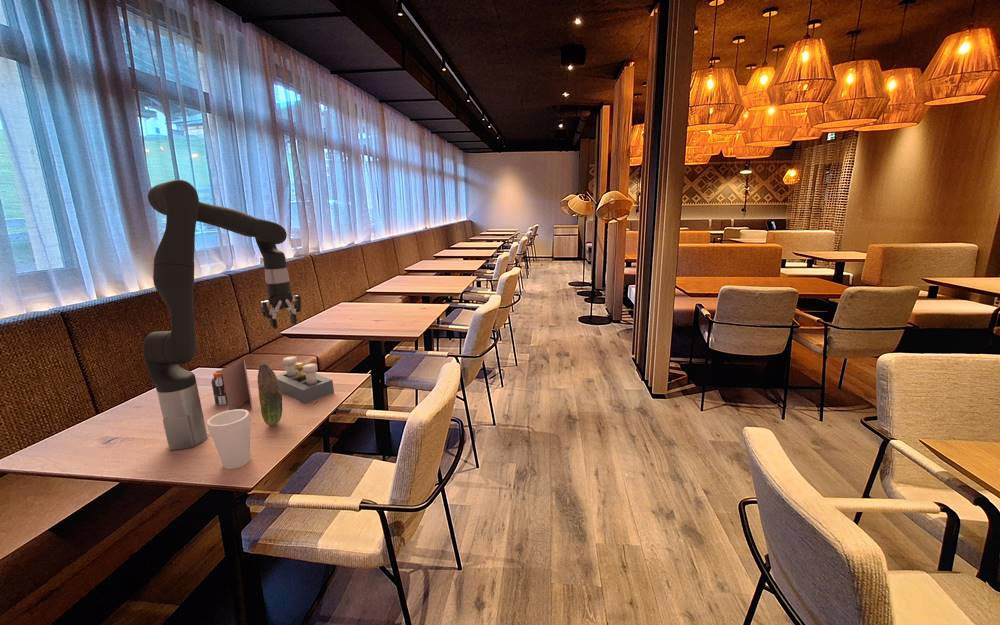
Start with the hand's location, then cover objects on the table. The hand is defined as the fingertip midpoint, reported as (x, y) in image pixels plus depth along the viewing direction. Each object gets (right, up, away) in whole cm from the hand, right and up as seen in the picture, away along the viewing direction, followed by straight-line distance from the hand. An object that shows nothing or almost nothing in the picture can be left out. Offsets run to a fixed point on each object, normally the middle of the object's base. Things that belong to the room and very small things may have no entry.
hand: (284, 326), depth 162 cm
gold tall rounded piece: (+6, -20, 0) cm, 21 cm away
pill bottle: (-18, -27, -6) cm, 33 cm away
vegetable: (+8, -30, -23) cm, 39 cm away
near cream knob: (+12, -21, -4) cm, 24 cm away
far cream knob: (+1, -19, +5) cm, 20 cm away
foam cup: (+9, -35, -44) cm, 57 cm away
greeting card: (-8, -27, -9) cm, 30 cm away
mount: (+6, -24, +1) cm, 25 cm away
